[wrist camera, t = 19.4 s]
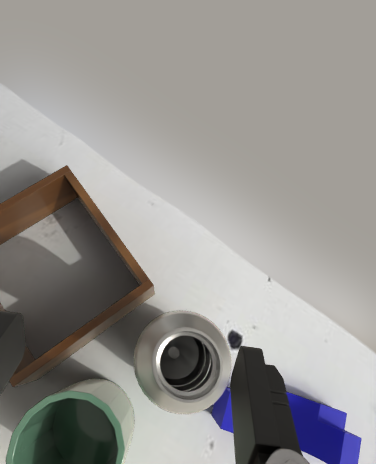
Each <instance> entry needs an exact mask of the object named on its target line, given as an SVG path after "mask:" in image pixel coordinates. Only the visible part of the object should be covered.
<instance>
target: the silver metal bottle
mask: <svg viewBox="0 0 376 464" xmlns="http://www.w3.org/2000/svg"><path fill="white" fill-rule="evenodd" d="M231 368H232V363H231V354H230V349H229V346H228V343H227V341H226V339H225V337H224V335H223V334H222V332H221V331H220V329H219V328H218V327H217V326H216V325H215V324H214V323H213V322H211V321H210V320H209V319H207V318H206V317H204V316H202V315H200V314H198V313H194V312H190V311H172V312H168V313H165V314H163V315H160V316H159V317H157V318H155V319H154V320H152V321H151V322H150V323H149V324H148V325H147V326H146V327H145V329H144V330H143V332H142V333H141V334H140V337H139V339H138V341H137V343H136V347H135V352H134V370H135V375H136V378H137V381H138V384H139V386H140V387H141V389H142V391H143V392H144V394H145V395H146V396H147V397H148V398H149V400H150V401H151V402H153V403H154V404H155V405H157V406H158V407H159V408H161V409H164V410H166V411H168V412H171V413H175V414H193V413H198V412H200V411H203V410H205V409H207V408H208V407H210V406H211V405H213V404H214V403H215V402H216V401H217V400H218V399H219V398H220V397H221V396H222V394H223V392H224V391H225V389H226V387H227V385H228V382H229V379H230V375H231Z"/></svg>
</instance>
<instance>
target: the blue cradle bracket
mask: <svg viewBox="0 0 376 464" xmlns="http://www.w3.org/2000/svg"><path fill="white" fill-rule="evenodd" d="M286 395H287V396H288V400H289V406H290V409H291V413H292V417H293V421H294V425H295V429H296V433H297V438H298V442H299V446H300V450H301V451H303V452H306V453H308V454H310V455H312V456H314V457H316V458H318V459H320V460H322V461H324V462H325V463H327V464H358V459H359V452H360V445H361V438H360V437H358V436H356V435H354V434H352V433H349V432H347V431H345V430H344V428H345V422H346V416H347V413H345V412H342V411H340V410H337V409H334V408H332V407H329V406H326V405H323V404H320V403H317V402H314V401H312V400H309V399H306V398H303V397H300V396H297V395H294V394H292V393H289V392H286ZM211 415H212V417H213V418H214V420H215V421H216V423H217V424H218V425H219V427H220V428H221V429H223V430H226V431H229V432H231V433H233V420H232V407H231V393H230V388H229V387H226V389H225V391H224V392H223V394H222V396H221V397H220V398H219V399H218V400H217V401H216V402H215V403H214V406H213V410H212V414H211Z"/></svg>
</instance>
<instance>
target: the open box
mask: <svg viewBox="0 0 376 464" xmlns="http://www.w3.org/2000/svg"><path fill="white" fill-rule="evenodd" d="M76 198H78V199H79V200H80V202H81V203H82V205H83V206H84V207H85V209H86V210H87V212H88V213H89V214H90V216H91V217H92V219H93V220H94V221H95V223H96V224H97V226H98V227H99V228H100V230H101V231H102V233H103V234H104V235H105V237H106V238H107V240H108V241H109V242H110V244H111V245H112V247H113V248H114V249H115V251H116V252H117V254H118V255H119V257H120V258H121V259H122V261H123V262H124V264H125V265H126V266H127V268H128V269H129V271H130V272H131V273H132V275H133V276H134V278H135V279H136V280H137V282H138V283H139V285H140V286H138V287H137V288H136V289H134V290H133V291H131V292H130V293H129V294H127V295H126V296H124V297H123V298H122V299H120V300H119V301H117V302H116V303H115V304H113V305H112V306H110V307H109V308H108V309H106V310H105V311H103V312H102V313H101V314H99V315H98V316H96V317H95V318H94V319H92V320H91V321H89V322H88V323H87V324H85V325H84V326H82V327H81V328H80V329H78V330H77V331H75V332H74V333H73V334H71V335H70V336H68V337H67V338H66V339H64V340H63V341H61V342H60V343H59V344H57V345H56V346H54V347H53V348H52V349H50V350H49V351H47V352H46V353H45V354H43V355H42V356H40V357H39V358H38V359H36V360H35V359H34V358H33V356H32V354H31V353H30V351H29V349H28V348H27V346H26V344H25V352H24V355H23V358H22V360H21V362H20V364H19V365H18V367H17V369H16V370H15V372H14V374H13V375H12V377H11V379H10V380H9V381H10V383H11V385H12V386H13V387H15V386H19V385H22V384H25V383H29V382H32V381H35V380H38V379H39V378H41V377H42V376H44V375H45V374H46V373H48V372H49V371H50V370H52V369H53V368H54V367H56V366H57V365H59V364H60V363H61V362H63V361H64V360H65V359H67V358H68V357H69V356H71V355H72V354H74V353H75V352H76V351H78V350H79V349H80V348H82V347H83V346H85V345H86V344H87V343H89V342H90V341H91V340H93V339H94V338H95V337H97V336H98V335H100V334H101V333H102V332H104V331H105V330H106V329H108V328H109V327H111V326H112V325H113V324H115V323H116V322H117V321H119V320H120V319H121V318H123V317H124V316H126V315H127V314H128V313H130V312H131V311H132V310H134V309H135V308H136V307H138V306H139V305H141V304H142V303H143V302H145V301H146V300H147V299H149V298H150V297H152V296H153V295H154V294H155V291H154V285H153V284H152V282H151V281H150V280H149V278H148V277H147V275H146V274H145V273H144V271H143V270H142V268H141V267H140V266H139V264H138V263H137V262H136V260H135V259H134V257H133V256H132V255H131V253H130V252H129V250H128V249H127V248H126V246H125V245H124V243H123V242H122V241H121V239H120V238H119V237H118V235H117V234H116V232H115V231H114V230H113V228H112V227H111V225H110V224H109V223H108V221H107V220H106V219H105V217H104V216H103V214H102V213H101V212H100V210H99V209H98V207H97V206H96V205H95V203H94V202H93V201H92V199H91V198H90V196H89V195H88V194H87V192H86V191H85V189H84V188H83V187H82V185H81V184H80V183H79V181H78V180H77V178H76V177H75V176H74V174H73V173H72V171H71V170H70V169H69V167H68V166H67V165H66V166H65V167H63V168H61V169H59V170H58V171H56V172H54V173H53V174H51V175H49V176H47V177H46V178H44V179H42V180H41V181H39V182H37V183H35V184H34V185H32V186H30V187H28V188H27V189H25V190H23V191H22V192H20V193H18V194H16V195H15V196H13V197H11V198H9V199H8V200H6V201H4V202H3V203H1V204H0V245H1V244H2V243H4V242H6V241H7V240H9V239H11V238H12V237H14V236H16V235H17V234H19V233H21V232H22V231H24V230H25V229H27V228H29V227H30V226H32V225H34V224H35V223H37V222H39V221H40V220H42V219H43V218H45V217H47V216H48V215H50V214H52V213H53V212H55V211H57V210H58V209H60V208H61V207H63V206H65V205H66V204H68V203H70V202H71V201H73V200H75V199H76ZM0 310H1V311H5V310H4V308H3V306H2V305H1V303H0Z"/></svg>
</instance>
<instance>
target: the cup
mask: <svg viewBox="0 0 376 464" xmlns="http://www.w3.org/2000/svg"><path fill="white" fill-rule="evenodd" d="M134 423H135V420H134V411H133V407H132V404H131V401H130V399H129V398H128V396H127V394H126V393H125V392H124V391H123V390H122V389H121V388H120V387H119V386H118V385H116V384H115V383H113V382H111V381H108V380H105V379H98V378H93V379H92V378H91V379H87V380H84V381H81V382H77V383H75V384H73V385H71V386H68V387H66V388H64V389H62V390H60V391H58V392H56V393H53V394H51V395H49V396H47V397H45V398H44V399H43V400H41V401H40V402H39V403H37V404H36V405H35V406H33V407H32V408H31V409H29V410H28V411H27V412H26V414H25V415H24V417H23V418H22V420H21V421H20V423H19V424H18V426H17V427H16V429H15V430H14V432H13V434H12V437H11V440H10V444H9V448H8V452H7V456H6V464H124V462H125V459H126V456H127V453H128V450H129V446H130V443H131V440H132V435H133V430H134Z"/></svg>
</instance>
